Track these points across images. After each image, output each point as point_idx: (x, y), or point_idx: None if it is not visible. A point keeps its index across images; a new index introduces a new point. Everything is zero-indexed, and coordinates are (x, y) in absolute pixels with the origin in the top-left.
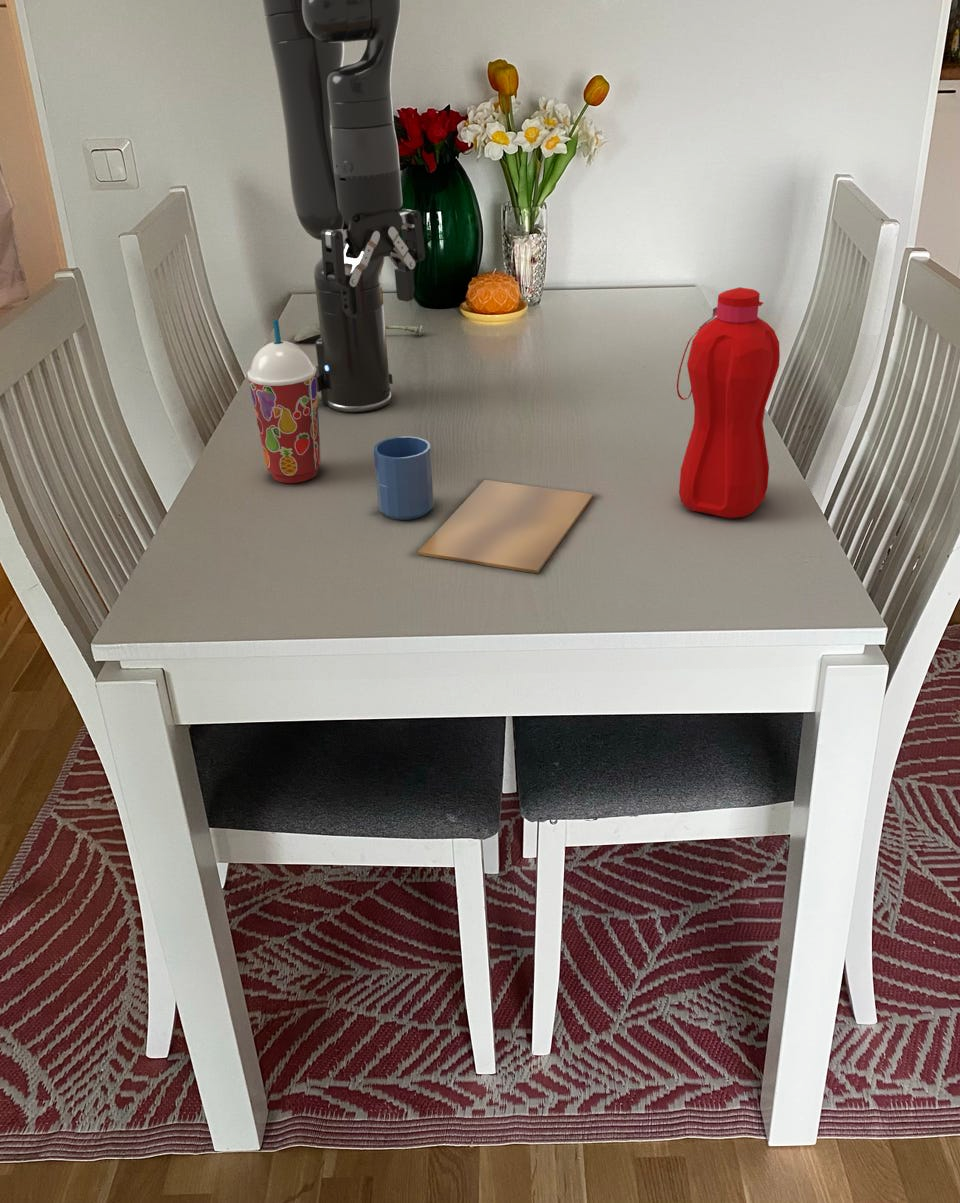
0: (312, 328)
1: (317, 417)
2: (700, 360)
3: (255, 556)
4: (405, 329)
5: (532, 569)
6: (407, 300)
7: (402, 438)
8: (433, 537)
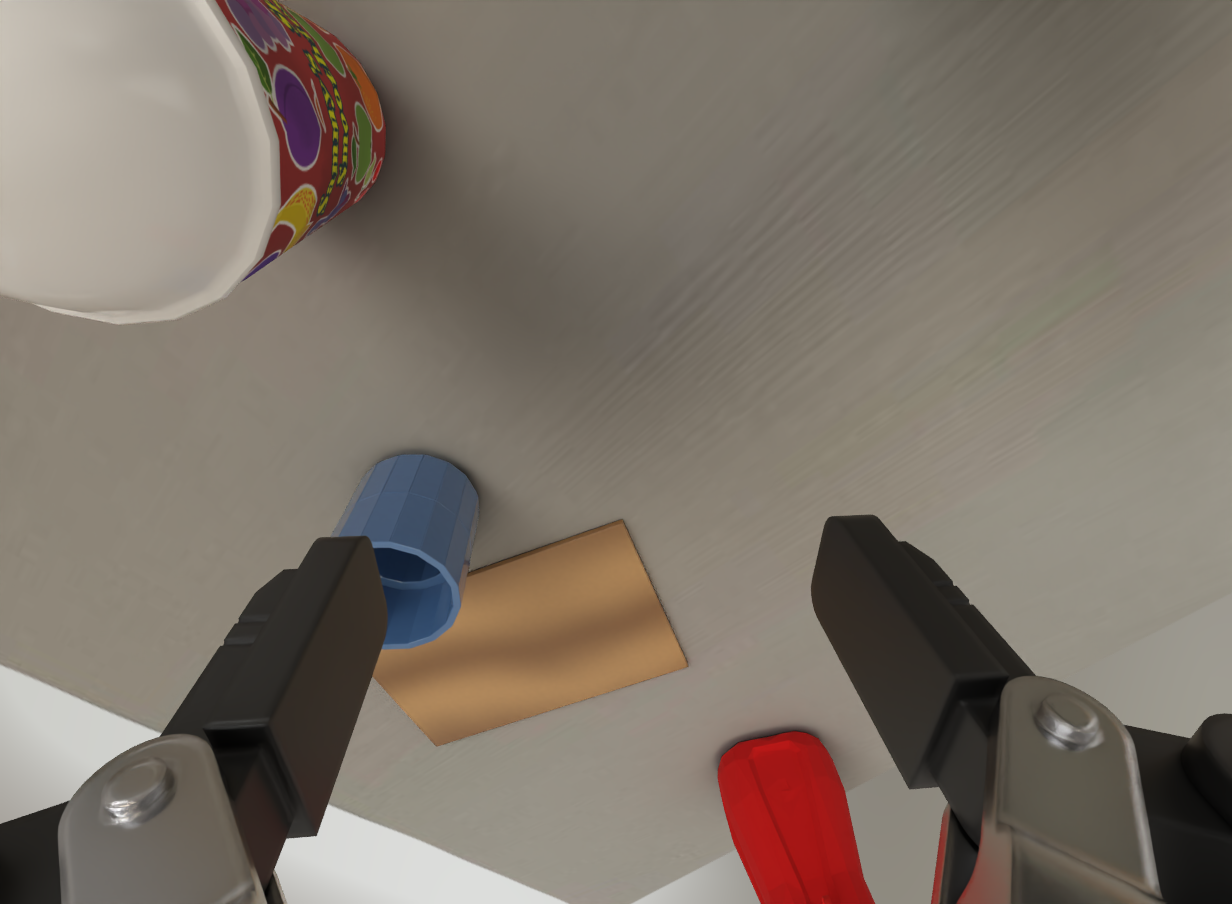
0: None
1: (313, 230)
2: None
3: (23, 433)
4: None
5: (432, 741)
6: (813, 590)
7: (425, 560)
8: None
